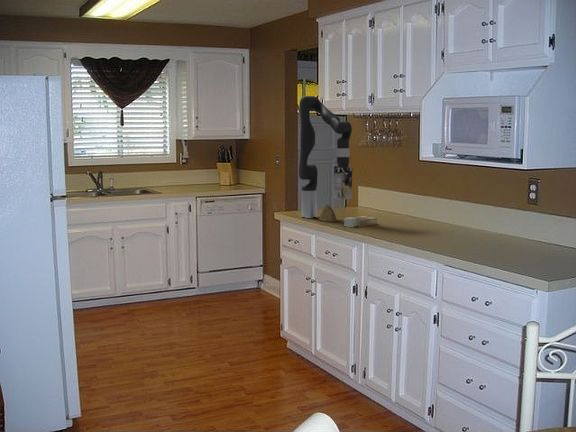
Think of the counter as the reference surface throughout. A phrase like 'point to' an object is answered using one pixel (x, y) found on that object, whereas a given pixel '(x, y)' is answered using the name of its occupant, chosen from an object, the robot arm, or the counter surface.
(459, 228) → the counter surface
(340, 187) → the coffee box
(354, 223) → the sage cube
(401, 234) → the counter surface
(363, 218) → the oak block
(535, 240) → the counter surface
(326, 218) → the rock
